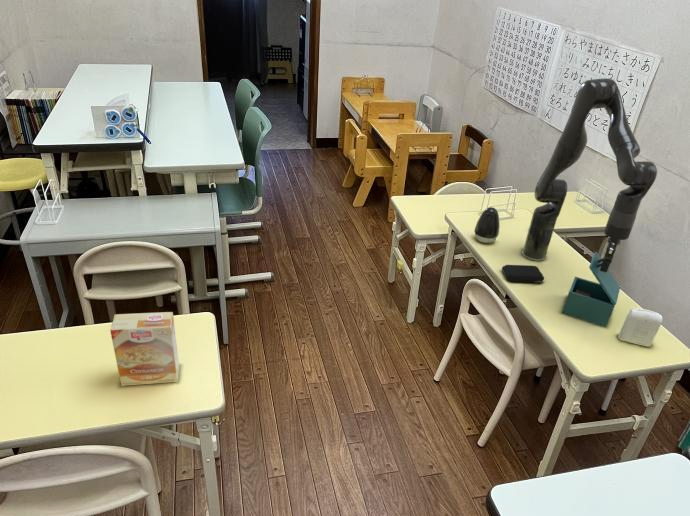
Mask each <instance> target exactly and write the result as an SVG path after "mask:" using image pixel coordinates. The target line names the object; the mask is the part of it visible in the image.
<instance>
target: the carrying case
mask: <svg viewBox="0 0 690 516" xmlns="http://www.w3.org/2000/svg"><path fill="white" fill-rule="evenodd" d="M501 271H502V272H503V275H504V277H505V278H506V280H507V281H509V282H516V283H534V284H538V283H541V282H544V280H545V277H544V274H543V273H542V272H541V270H540V268H539V267H538V266H536V265H528V264H527V265H525V264H505V265H503V266H502V267H501Z"/></svg>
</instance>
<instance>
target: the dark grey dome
mask: <svg viewBox="0 0 690 516" xmlns="http://www.w3.org/2000/svg"><path fill="white" fill-rule="evenodd" d="M500 223H501V222H500V215H499V212H498V210H497V209H496V208H495V207H491V206H489V207H486V208H485V209H484V210H483V211H482V213H481V214H480V216H479V218H478V220H477V221H476V224H475V226H474V230H473V232H474V236H475V238H476V240H477V241H479V242H481V243H484V244H491V243H493V242H495V240H497V238H498V237H499V235H500V226H501V225H500Z"/></svg>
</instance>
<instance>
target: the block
mask: <svg viewBox="0 0 690 516" xmlns="http://www.w3.org/2000/svg"><path fill="white" fill-rule="evenodd" d="M575 293H578V294H581V295H584V296H588V297H590V295H591V294H589V293H586V292H583V291H579V290H576V292H575Z"/></svg>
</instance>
